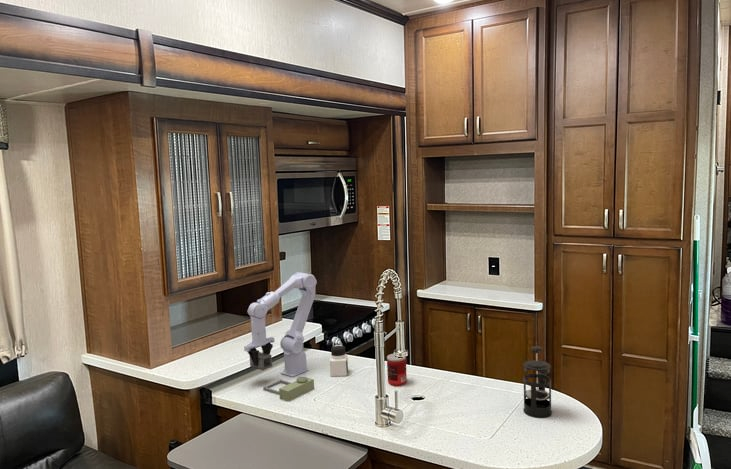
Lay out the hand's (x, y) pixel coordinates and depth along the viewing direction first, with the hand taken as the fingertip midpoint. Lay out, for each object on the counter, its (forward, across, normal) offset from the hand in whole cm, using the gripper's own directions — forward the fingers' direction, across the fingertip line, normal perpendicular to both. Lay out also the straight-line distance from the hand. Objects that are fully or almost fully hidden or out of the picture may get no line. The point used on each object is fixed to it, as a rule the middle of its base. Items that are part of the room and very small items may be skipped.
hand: (261, 363), depth 218 cm
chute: (+1, 0, 0) cm, 1 cm away
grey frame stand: (+8, 0, +15) cm, 17 cm away
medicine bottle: (+9, -25, +21) cm, 34 cm away
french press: (+9, -35, +104) cm, 110 cm away
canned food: (+9, -30, +48) cm, 57 cm away
